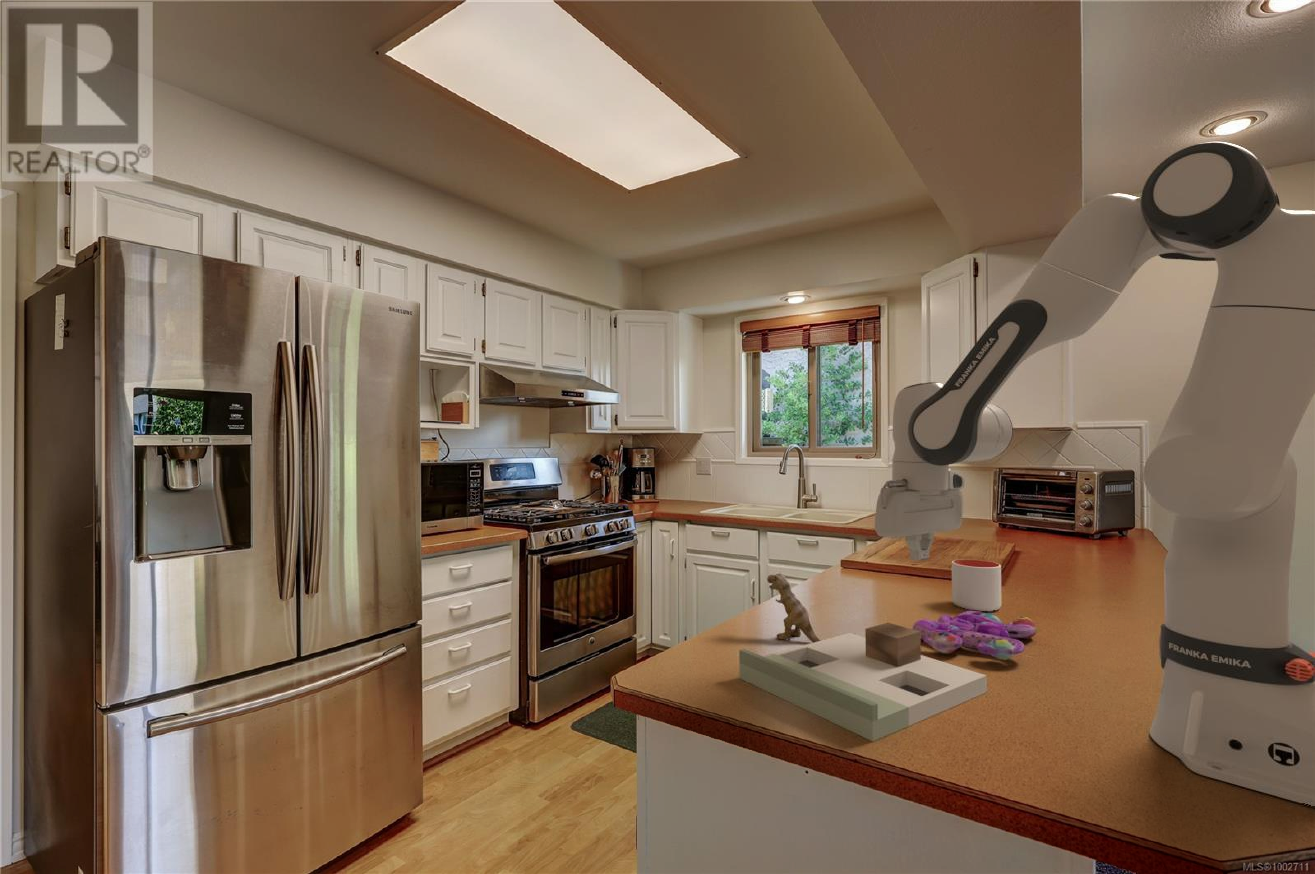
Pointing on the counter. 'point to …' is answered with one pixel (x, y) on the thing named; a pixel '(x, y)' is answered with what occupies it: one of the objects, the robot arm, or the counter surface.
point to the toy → (791, 610)
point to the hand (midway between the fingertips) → (919, 559)
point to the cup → (976, 584)
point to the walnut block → (893, 644)
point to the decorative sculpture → (976, 633)
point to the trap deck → (860, 684)
